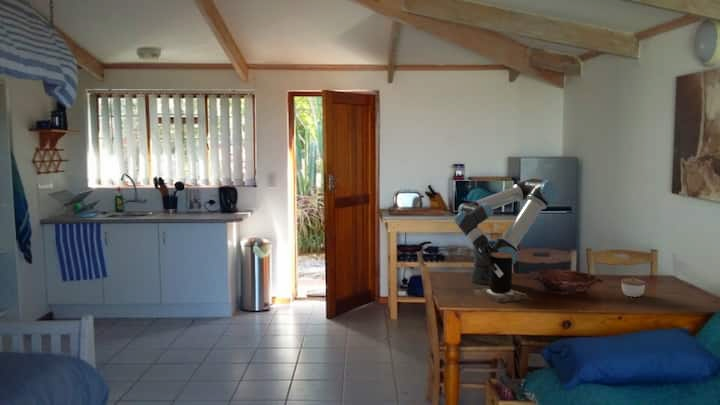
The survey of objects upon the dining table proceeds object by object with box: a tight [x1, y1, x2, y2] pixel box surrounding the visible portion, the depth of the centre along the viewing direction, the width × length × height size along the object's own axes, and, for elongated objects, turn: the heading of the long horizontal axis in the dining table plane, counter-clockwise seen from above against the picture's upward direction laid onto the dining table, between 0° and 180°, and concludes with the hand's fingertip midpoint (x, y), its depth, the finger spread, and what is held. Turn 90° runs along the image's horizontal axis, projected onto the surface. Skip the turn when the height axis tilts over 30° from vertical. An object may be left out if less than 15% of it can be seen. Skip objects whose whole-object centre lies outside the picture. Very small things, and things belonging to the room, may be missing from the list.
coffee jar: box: [488, 252, 513, 293], centre depth 287 cm, size 11×11×18 cm
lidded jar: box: [621, 277, 646, 297], centre depth 292 cm, size 11×11×9 cm
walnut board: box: [473, 287, 528, 304], centre depth 288 cm, size 18×18×2 cm
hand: (506, 273), depth 286 cm, fingers closed on coffee jar, 11 cm apart
